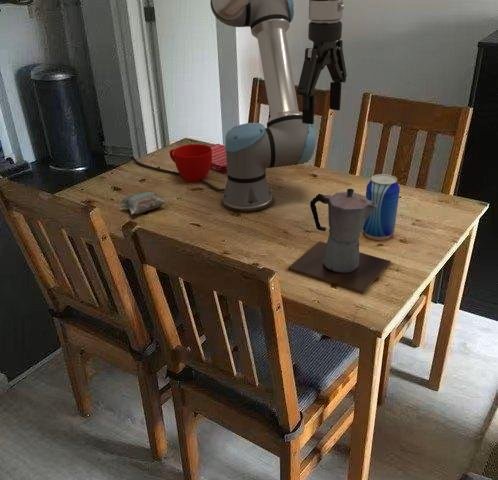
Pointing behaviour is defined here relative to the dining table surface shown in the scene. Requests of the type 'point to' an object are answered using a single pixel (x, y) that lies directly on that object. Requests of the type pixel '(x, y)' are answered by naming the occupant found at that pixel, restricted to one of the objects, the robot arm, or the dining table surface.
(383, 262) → the walnut trivet
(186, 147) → the ceramic cup
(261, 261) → the dining table surface
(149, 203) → the packaged food
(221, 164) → the dish towel
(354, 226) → the moka pot
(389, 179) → the beer can
